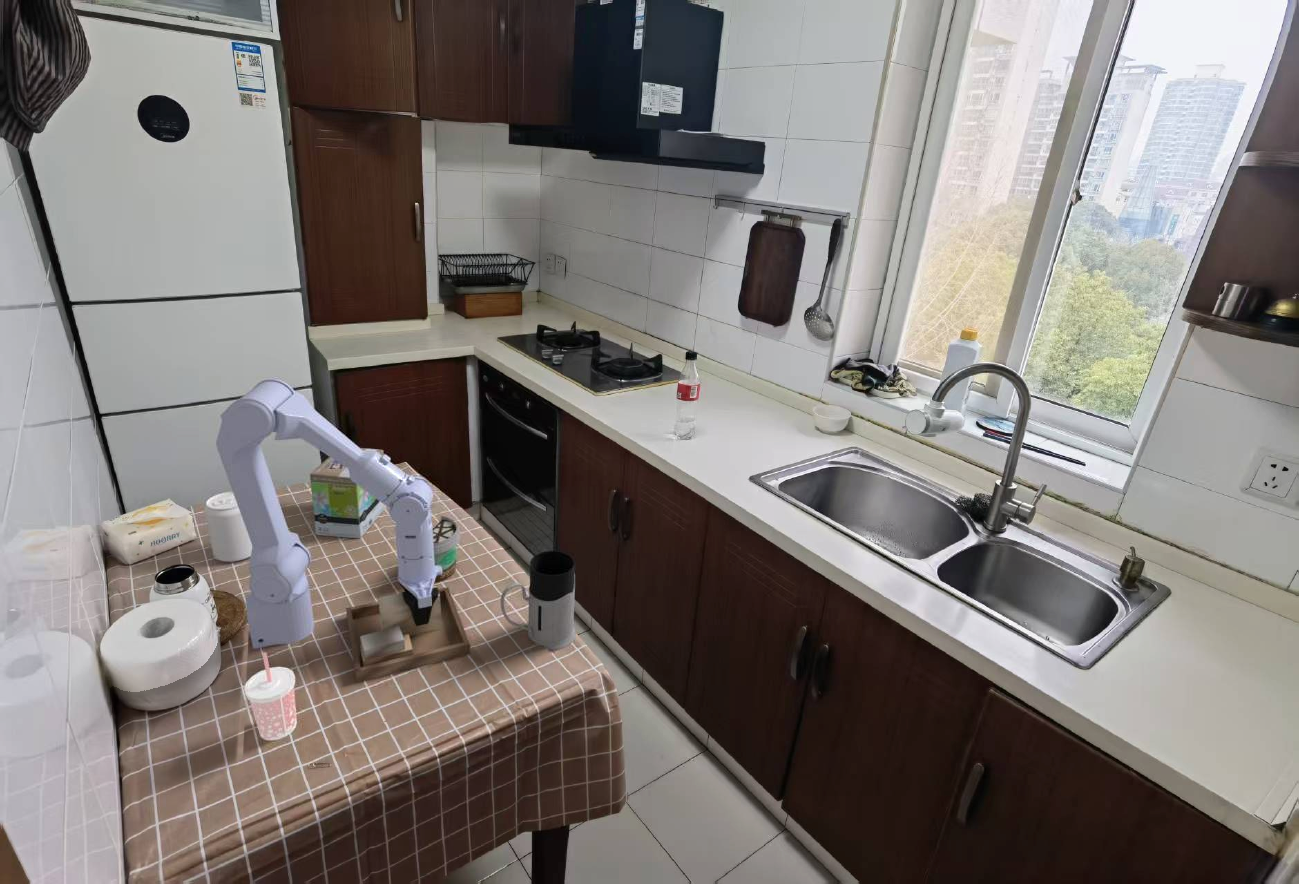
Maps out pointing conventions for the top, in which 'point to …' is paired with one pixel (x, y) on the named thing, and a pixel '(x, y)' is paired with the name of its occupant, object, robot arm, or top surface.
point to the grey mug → (549, 600)
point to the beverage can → (227, 528)
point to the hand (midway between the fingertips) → (420, 617)
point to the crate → (424, 645)
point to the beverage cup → (273, 701)
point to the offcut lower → (392, 656)
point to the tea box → (341, 501)
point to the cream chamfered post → (406, 615)
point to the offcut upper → (382, 643)
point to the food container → (445, 547)
